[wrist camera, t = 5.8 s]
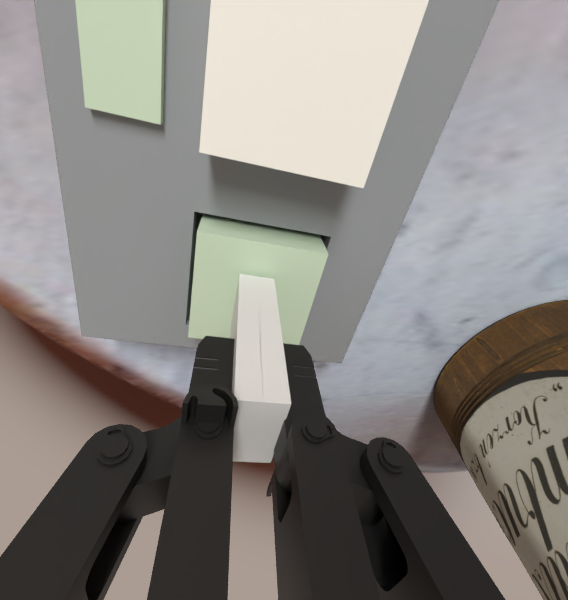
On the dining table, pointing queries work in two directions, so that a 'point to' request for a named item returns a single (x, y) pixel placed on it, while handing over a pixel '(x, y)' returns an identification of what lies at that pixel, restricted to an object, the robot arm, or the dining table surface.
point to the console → (217, 165)
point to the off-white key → (305, 82)
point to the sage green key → (253, 273)
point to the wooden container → (517, 432)
